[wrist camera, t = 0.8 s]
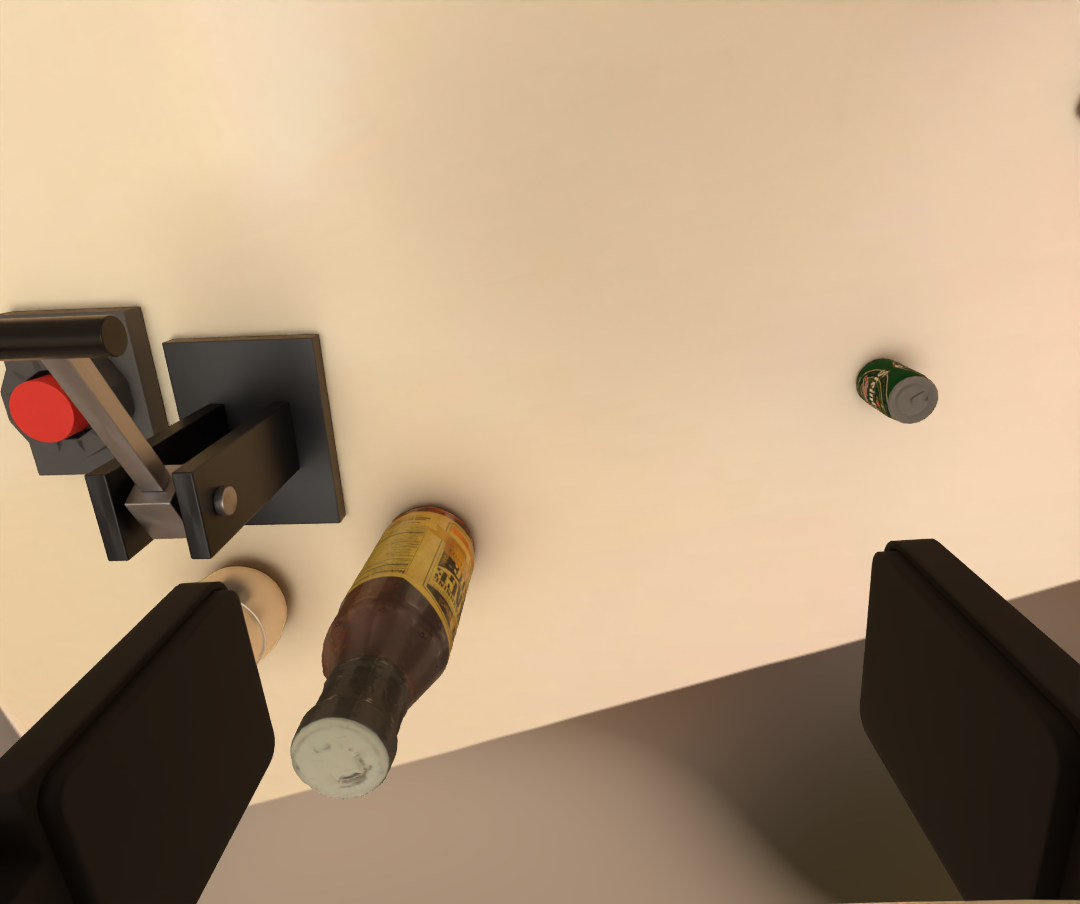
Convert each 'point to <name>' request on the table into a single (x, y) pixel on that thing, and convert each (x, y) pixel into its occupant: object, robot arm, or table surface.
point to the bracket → (235, 444)
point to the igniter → (123, 375)
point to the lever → (100, 404)
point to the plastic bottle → (256, 605)
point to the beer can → (897, 391)
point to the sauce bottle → (384, 651)
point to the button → (45, 410)
